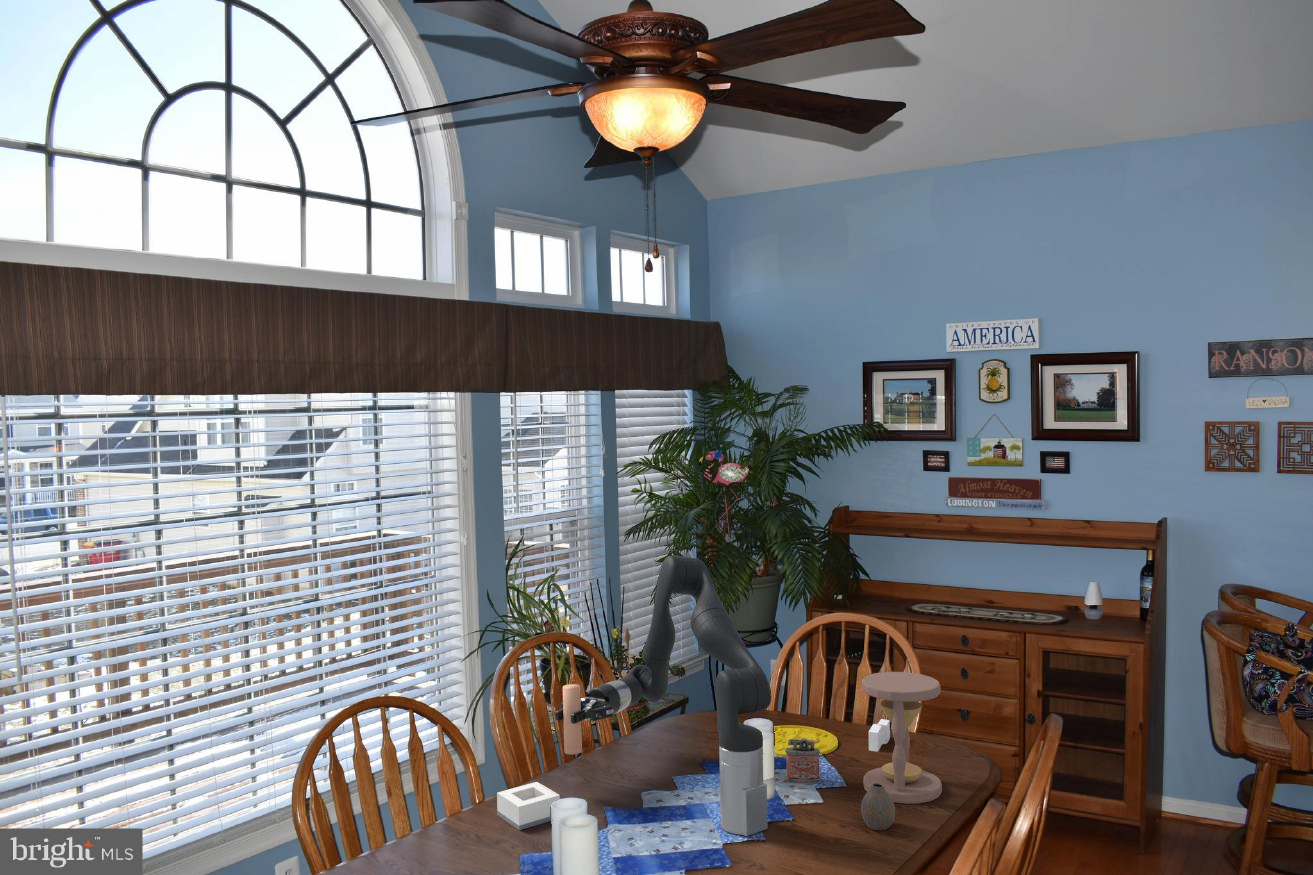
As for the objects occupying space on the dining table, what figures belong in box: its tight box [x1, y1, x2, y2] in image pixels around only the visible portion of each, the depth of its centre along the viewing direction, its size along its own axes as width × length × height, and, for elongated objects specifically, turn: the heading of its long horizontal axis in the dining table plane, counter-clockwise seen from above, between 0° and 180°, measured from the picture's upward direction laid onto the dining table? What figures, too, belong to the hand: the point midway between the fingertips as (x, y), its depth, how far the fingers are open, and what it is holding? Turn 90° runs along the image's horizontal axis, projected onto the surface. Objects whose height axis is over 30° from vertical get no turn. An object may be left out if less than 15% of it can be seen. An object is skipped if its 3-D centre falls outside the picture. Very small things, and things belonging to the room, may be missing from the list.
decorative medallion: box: [773, 724, 839, 758], centre depth 254 cm, size 24×24×2 cm
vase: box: [860, 783, 896, 831], centre depth 201 cm, size 7×7×9 cm
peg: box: [562, 683, 583, 755], centre depth 220 cm, size 4×4×15 cm
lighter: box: [785, 738, 821, 785], centre depth 227 cm, size 8×3×10 cm, turn 84°
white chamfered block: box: [868, 718, 891, 753], centre depth 251 cm, size 15×11×6 cm
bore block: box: [496, 781, 561, 831], centre depth 209 cm, size 10×10×5 cm
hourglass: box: [861, 671, 943, 805], centre depth 221 cm, size 18×18×25 cm
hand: (564, 717), depth 218 cm, fingers closed on peg, 4 cm apart
